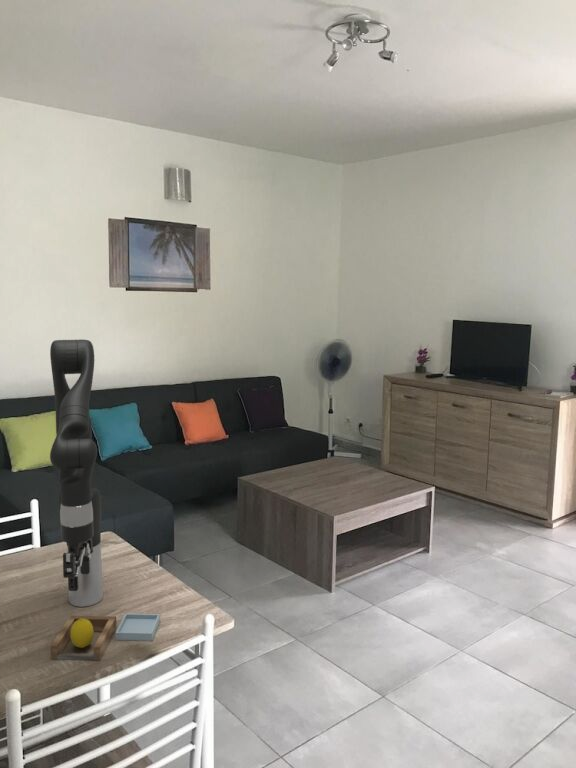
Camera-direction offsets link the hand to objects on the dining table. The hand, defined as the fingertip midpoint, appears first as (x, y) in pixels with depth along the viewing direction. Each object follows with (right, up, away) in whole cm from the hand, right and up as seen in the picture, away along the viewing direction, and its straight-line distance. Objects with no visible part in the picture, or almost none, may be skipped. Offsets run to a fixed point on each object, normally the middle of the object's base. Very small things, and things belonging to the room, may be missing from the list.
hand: (79, 581), depth 156 cm
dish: (+12, -16, +11) cm, 23 cm away
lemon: (0, -18, +3) cm, 18 cm away
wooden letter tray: (0, -17, +5) cm, 18 cm away
